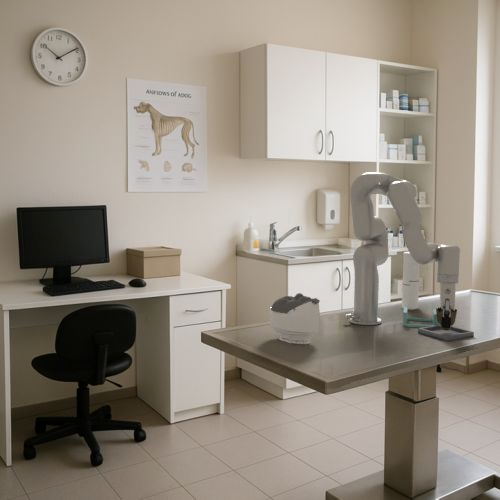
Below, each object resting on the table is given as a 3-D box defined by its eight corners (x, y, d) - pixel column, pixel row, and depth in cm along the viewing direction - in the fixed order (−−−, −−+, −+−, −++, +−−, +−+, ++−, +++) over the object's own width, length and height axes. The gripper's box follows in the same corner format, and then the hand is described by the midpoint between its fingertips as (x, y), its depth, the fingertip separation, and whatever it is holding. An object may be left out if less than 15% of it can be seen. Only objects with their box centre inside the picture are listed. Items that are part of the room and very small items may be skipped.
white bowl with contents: (328, 342, 216) (285, 332, 230) (329, 294, 214) (286, 287, 228) (305, 349, 207) (262, 338, 220) (306, 299, 205) (262, 292, 218)
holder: (437, 328, 237) (437, 314, 236) (402, 326, 240) (403, 312, 240) (436, 321, 248) (436, 308, 248) (403, 319, 252) (403, 306, 251)
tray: (446, 341, 218) (446, 336, 218) (418, 332, 230) (418, 328, 230) (473, 336, 225) (473, 331, 225) (444, 328, 237) (444, 324, 237)
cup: (430, 328, 229) (431, 307, 229) (446, 326, 232) (447, 306, 231) (444, 333, 223) (445, 311, 222) (460, 331, 226) (461, 310, 225)
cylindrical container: (418, 309, 271) (420, 253, 268) (401, 308, 272) (403, 253, 270) (417, 306, 278) (419, 252, 275) (401, 305, 279) (403, 251, 276)
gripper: (460, 282, 216) (457, 332, 218) (457, 275, 233) (454, 321, 235) (437, 281, 218) (435, 330, 220) (436, 274, 235) (434, 319, 237)
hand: (445, 325), depth 227 cm, fingers closed on cup, 7 cm apart
